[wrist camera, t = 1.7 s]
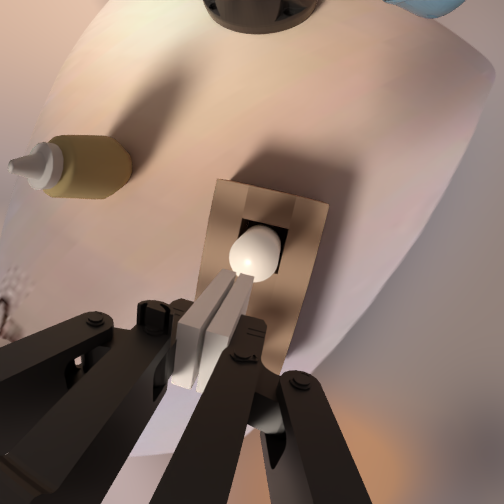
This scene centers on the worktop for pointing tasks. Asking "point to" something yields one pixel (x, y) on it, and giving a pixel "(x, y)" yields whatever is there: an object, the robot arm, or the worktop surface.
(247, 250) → the white oval piece
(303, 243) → the walnut plug block
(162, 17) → the worktop surface
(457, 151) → the worktop surface
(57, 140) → the squeeze bottle
